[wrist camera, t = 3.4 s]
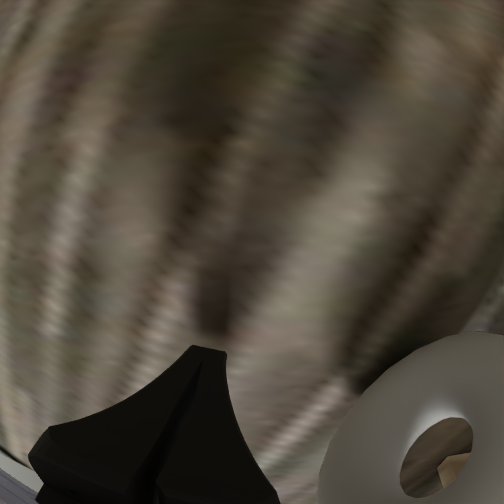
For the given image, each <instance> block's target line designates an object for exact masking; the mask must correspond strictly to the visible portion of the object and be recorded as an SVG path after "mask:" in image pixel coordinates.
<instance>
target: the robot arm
mask: <svg viewBox="0 0 504 504" xmlns="http://www.w3.org/2000/svg"><path fill="white" fill-rule="evenodd" d="M226 360H227V354H226V353H225V352H224V351H219V350H214V349H210V348H205V347H200V346H196V345H192V346H190V347H189V348H188V349H187V350H186V351H185V352H184V353H183V354H182V355H181V356H180V357H179V358H178V359H177V360H176V361H175V362H174V363H173V364H172V365H171V366H170V367H169V368H168V369H167V370H165V371H164V372H163V373H162V374H161V375H160V376H158V377H157V378H156V379H154V380H153V381H152V382H151V383H149V384H148V385H147V386H145V387H144V388H142V389H141V390H139V391H138V392H136V393H135V394H133V395H132V396H130V397H128V398H127V399H125V400H123V401H121V402H119V403H117V404H115V405H113V406H111V407H109V408H107V409H105V410H103V411H100V412H98V413H95V414H93V415H90V416H87V417H84V418H82V419H79V420H75V421H71V422H67V423H63V424H59V425H54V426H49V427H48V429H47V430H46V431H45V432H44V433H43V434H42V435H41V437H40V438H39V439H38V441H37V442H36V444H35V445H34V446H33V448H32V449H31V451H30V452H29V454H28V459H29V462H30V464H31V466H32V467H33V469H34V470H35V472H36V473H37V474H38V476H39V477H40V479H41V480H42V481H43V483H44V484H43V486H42V488H41V489H40V491H39V493H37V492H35V491H34V490H32V489H30V488H29V487H27V486H26V485H24V484H23V483H21V482H20V481H18V480H16V479H15V478H13V477H12V476H11V475H9V474H8V473H6V472H5V471H3V470H2V469H1V468H0V504H280V501H279V498H278V495H277V492H276V490H275V489H274V487H273V486H272V485H271V484H270V482H269V481H268V479H267V478H266V477H265V475H264V474H263V472H262V471H261V469H260V468H259V466H258V464H257V463H256V461H255V459H254V457H253V456H252V454H251V452H250V450H249V448H248V446H247V444H246V442H245V440H244V438H243V435H242V433H241V431H240V428H239V426H238V423H237V420H236V417H235V414H234V411H233V407H232V404H231V400H230V395H229V390H228V384H227V377H226Z"/></svg>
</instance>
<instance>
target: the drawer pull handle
mask: <svg viewBox="0 0 504 504" xmlns="http://www.w3.org/2000/svg"><path fill="white" fill-rule="evenodd" d="M470 453H471V452H470ZM470 453H464V454H459V455H453V456H448V457H447V458H446V459H445V460H444V461H443V462H442V463H441V464H440V465H439V466H438V468H437V470H438V473H439V476H440V479H441V482H442V485H443V488H445V487H446V486H447V485H449V484H450V483H451V482H452V481H454V480H455V479H456V477H457V476H458V475H459V473H460V472H461V471H462V469H463V468H464V467H465V465H466V463H467V460H468V458H469V456H470Z"/></svg>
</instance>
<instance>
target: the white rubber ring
mask: <svg viewBox="0 0 504 504" xmlns="http://www.w3.org/2000/svg"><path fill="white" fill-rule="evenodd" d="M449 417H457V418H463V419H465V420H466V421H467V422H468V423H469V424H470V426H471V428H472V432H473V443H472V451H471V453H470V456H469V458H468V460H467V463H466V465H465V467H464V468H463V469H462V471H461V472H460V473H459V475H458V476H457V477H456V479H455V480H454V481H452V482H451V483H450V484H449V485H447V486H446V487H445V488H444V489H442V490H441V491H439V492H437V493H434V494H432V495H430V496H427V497H423V498H414V497H411V496H408V495H406V494H405V493H404V491H403V489H402V487H401V485H400V476H399V475H400V471H401V467H402V462H403V460H404V458H405V456H406V454H407V452H408V450H409V448H410V447H411V446H412V444H413V443H414V442H415V441H416V439H417V438H418V437H419V436H420V435H421V434H422V433H423V432H424V431H426V430H427V429H428V428H429V427H430V426H432V425H434V424H435V423H437V422H439V421H441V420H442V419H446V418H449ZM316 504H504V335H498V334H492V333H487V332H481V331H475V332H469V333H463V334H457V335H450V336H446V337H444V338H442V339H440V340H437V341H435V342H433V343H430V344H428V345H426V346H423V347H421V348H418V349H417V350H415V351H413V352H412V353H411V354H409V355H408V356H406V357H405V358H403V359H402V360H400V361H399V362H397V363H396V364H394V365H393V366H391V367H390V368H388V369H387V370H386V371H385V372H384V373H383V374H382V375H381V376H380V377H379V378H378V379H377V380H376V381H375V382H374V383H372V384H371V385H370V386H369V387H368V388H367V389H366V390H365V391H364V392H363V394H362V395H361V396H360V398H359V399H358V400H357V401H356V403H355V404H354V405H353V406H352V408H351V409H350V410H349V411H348V413H347V414H346V415H345V417H344V419H343V420H342V422H341V424H340V426H339V428H338V429H337V431H336V433H335V435H334V436H333V438H332V440H331V441H330V444H329V447H328V450H327V452H326V455H325V458H324V461H323V464H322V466H321V469H320V473H319V481H318V489H317V497H316Z"/></svg>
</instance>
